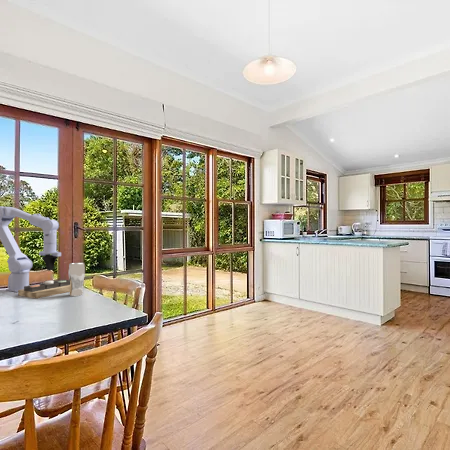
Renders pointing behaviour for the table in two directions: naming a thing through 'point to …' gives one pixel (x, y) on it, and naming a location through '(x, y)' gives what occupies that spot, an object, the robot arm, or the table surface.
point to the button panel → (45, 289)
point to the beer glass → (76, 278)
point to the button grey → (48, 282)
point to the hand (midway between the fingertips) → (49, 270)
